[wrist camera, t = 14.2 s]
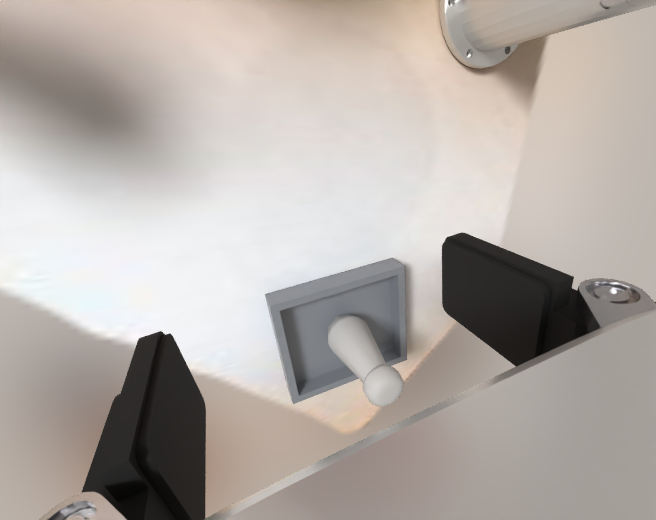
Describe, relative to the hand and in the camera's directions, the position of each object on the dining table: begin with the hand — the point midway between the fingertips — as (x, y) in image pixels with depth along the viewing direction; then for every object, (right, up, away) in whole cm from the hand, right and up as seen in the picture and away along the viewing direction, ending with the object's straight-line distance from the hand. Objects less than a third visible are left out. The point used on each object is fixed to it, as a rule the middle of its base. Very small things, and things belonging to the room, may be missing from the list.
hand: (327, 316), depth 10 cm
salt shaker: (+2, -7, +33) cm, 34 cm away
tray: (+2, -7, +34) cm, 35 cm away
